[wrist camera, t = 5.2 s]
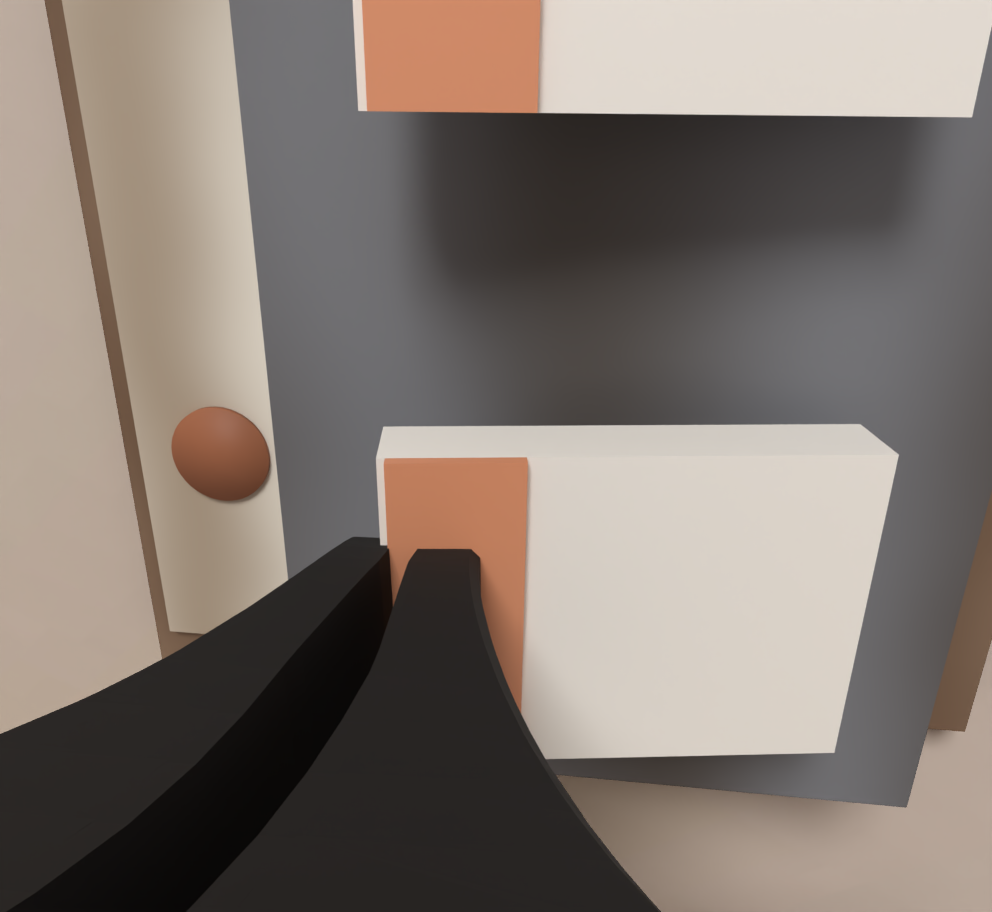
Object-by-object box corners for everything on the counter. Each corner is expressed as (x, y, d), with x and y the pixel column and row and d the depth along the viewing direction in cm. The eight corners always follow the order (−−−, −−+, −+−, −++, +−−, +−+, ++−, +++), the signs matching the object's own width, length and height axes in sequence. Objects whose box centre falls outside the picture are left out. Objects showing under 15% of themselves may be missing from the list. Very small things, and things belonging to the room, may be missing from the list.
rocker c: (843, 410, 11) (905, 460, 9) (793, 682, 13) (839, 760, 11) (387, 412, 11) (373, 464, 9) (399, 689, 12) (390, 771, 11)
